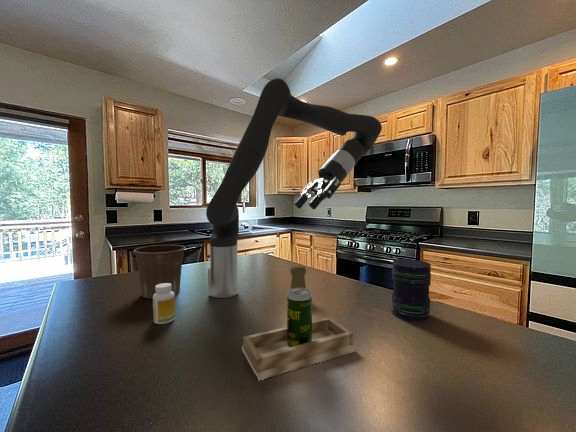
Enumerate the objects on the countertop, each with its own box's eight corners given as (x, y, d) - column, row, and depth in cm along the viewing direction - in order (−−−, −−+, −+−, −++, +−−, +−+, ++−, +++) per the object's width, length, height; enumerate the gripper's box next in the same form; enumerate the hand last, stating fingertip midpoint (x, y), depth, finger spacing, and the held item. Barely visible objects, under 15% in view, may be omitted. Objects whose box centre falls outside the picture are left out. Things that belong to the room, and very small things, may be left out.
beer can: (297, 337, 61) (297, 285, 60) (316, 345, 58) (316, 290, 57) (281, 346, 57) (281, 292, 56) (302, 356, 53) (302, 297, 53)
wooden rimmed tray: (259, 381, 47) (258, 362, 47) (242, 350, 57) (241, 334, 57) (355, 351, 57) (356, 335, 57) (327, 329, 67) (327, 315, 67)
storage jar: (428, 311, 77) (430, 260, 77) (431, 325, 69) (432, 268, 68) (392, 305, 82) (393, 257, 81) (390, 318, 73) (391, 264, 72)
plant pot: (195, 287, 100) (194, 244, 99) (168, 303, 84) (167, 253, 83) (156, 285, 103) (155, 243, 102) (123, 300, 87) (121, 251, 86)
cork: (307, 295, 91) (307, 263, 90) (307, 301, 85) (307, 268, 84) (290, 294, 92) (290, 263, 91) (288, 301, 86) (288, 267, 85)
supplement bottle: (179, 317, 74) (178, 283, 73) (164, 326, 69) (163, 289, 68) (164, 314, 76) (163, 281, 75) (148, 322, 71) (147, 287, 70)
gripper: (316, 162, 85) (284, 197, 81) (344, 155, 72) (308, 197, 68) (330, 179, 88) (299, 214, 83) (359, 175, 75) (325, 217, 70)
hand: (303, 206), depth 76 cm, fingers open, 8 cm apart
